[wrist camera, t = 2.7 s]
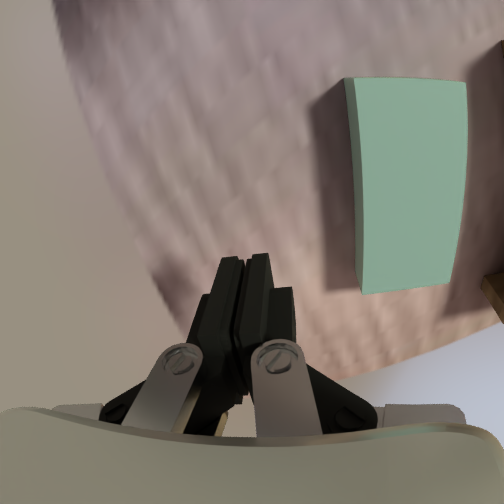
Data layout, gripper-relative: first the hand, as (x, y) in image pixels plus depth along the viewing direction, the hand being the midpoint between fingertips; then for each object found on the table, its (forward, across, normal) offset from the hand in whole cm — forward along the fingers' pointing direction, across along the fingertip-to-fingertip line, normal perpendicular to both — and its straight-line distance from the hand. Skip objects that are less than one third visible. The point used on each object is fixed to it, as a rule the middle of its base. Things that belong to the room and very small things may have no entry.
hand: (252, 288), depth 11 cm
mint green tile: (+7, -8, -1) cm, 11 cm away
